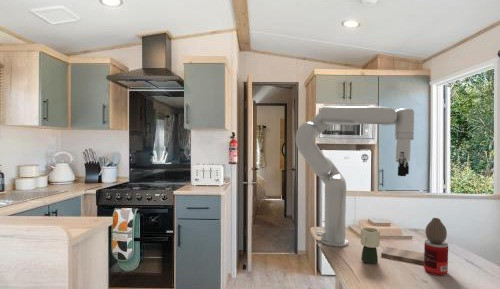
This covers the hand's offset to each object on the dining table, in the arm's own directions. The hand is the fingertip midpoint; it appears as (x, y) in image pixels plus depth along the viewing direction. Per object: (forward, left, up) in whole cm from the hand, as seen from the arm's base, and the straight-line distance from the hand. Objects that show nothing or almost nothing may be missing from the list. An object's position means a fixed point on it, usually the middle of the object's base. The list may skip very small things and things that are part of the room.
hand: (403, 175), depth 145 cm
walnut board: (+2, -10, -33) cm, 35 cm away
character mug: (-9, -24, -34) cm, 42 cm away
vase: (+14, -20, -22) cm, 33 cm away
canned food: (+14, -20, -34) cm, 41 cm away
